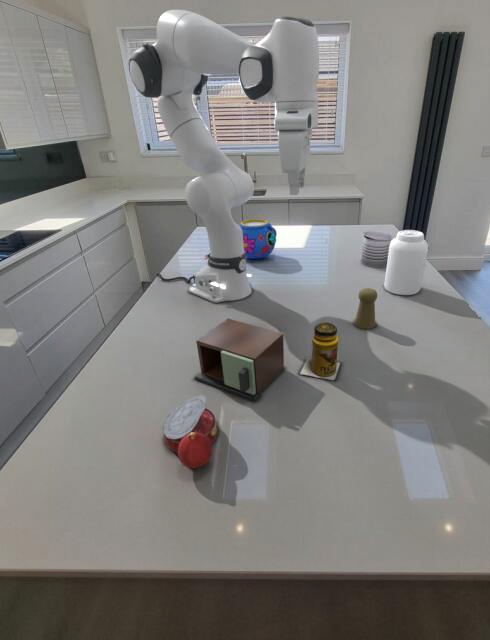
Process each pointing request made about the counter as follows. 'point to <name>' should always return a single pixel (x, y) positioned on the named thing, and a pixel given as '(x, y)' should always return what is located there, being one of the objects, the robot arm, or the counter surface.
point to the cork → (366, 309)
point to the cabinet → (240, 354)
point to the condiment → (323, 353)
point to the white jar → (406, 263)
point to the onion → (195, 450)
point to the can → (375, 248)
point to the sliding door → (238, 372)
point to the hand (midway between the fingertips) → (297, 190)
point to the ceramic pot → (258, 238)
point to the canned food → (189, 422)
